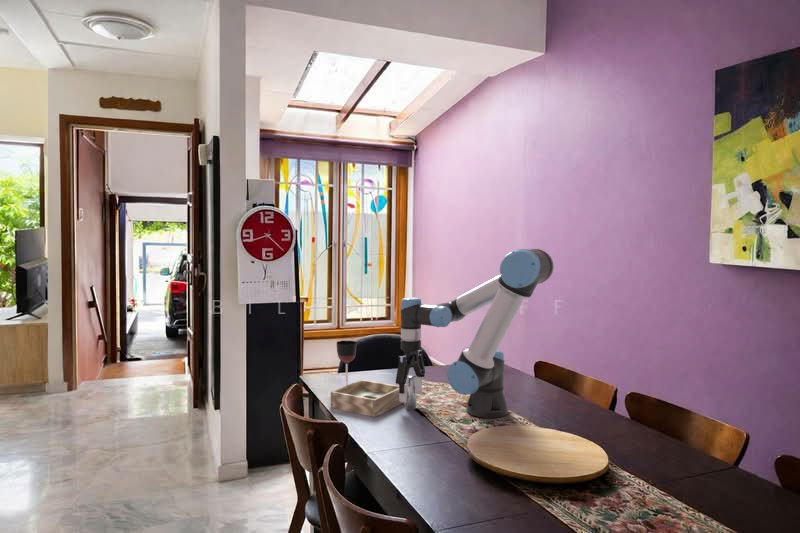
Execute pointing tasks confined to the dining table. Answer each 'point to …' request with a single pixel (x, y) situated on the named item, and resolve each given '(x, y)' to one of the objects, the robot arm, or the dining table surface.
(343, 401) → the box
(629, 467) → the dining table surface
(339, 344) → the wineglass
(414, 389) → the peg
